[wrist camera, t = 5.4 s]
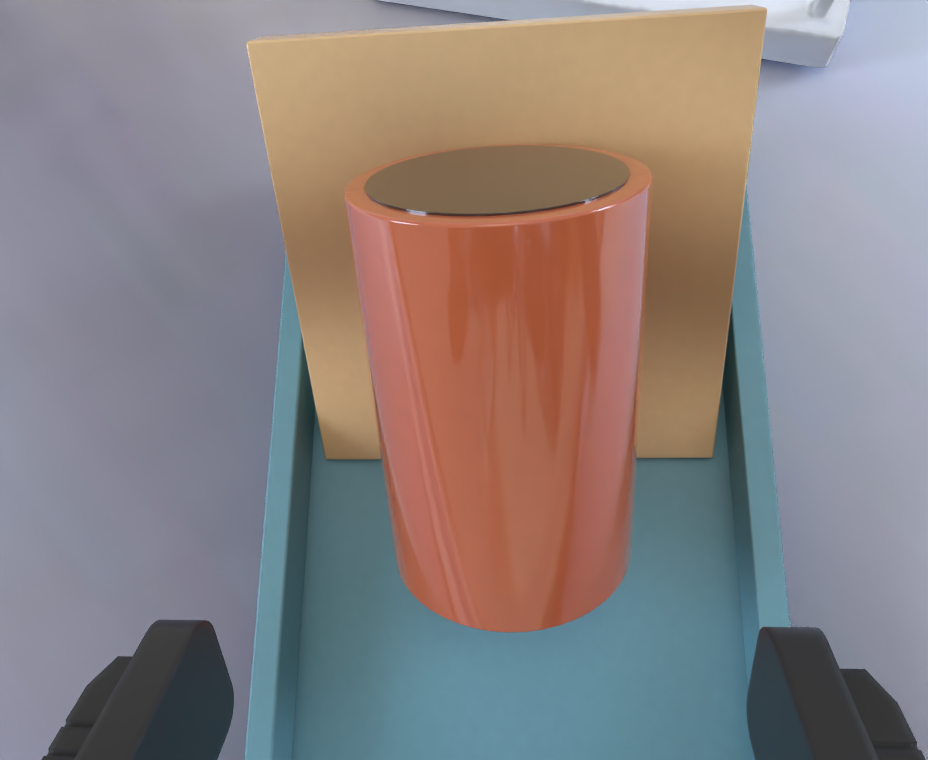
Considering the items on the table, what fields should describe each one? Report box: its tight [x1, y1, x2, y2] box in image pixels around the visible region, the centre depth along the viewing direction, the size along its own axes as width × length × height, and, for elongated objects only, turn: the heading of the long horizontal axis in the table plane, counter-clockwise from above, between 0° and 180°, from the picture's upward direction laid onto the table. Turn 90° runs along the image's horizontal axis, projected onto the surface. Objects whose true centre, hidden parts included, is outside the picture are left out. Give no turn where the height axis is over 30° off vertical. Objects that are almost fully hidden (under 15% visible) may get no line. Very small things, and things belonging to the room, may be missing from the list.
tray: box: [245, 185, 790, 760], centre depth 22 cm, size 26×15×3 cm, turn 179°
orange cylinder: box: [343, 144, 653, 633], centre depth 18 cm, size 12×6×12 cm, turn 179°
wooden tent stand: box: [246, 5, 767, 460], centre depth 21 cm, size 10×12×9 cm
